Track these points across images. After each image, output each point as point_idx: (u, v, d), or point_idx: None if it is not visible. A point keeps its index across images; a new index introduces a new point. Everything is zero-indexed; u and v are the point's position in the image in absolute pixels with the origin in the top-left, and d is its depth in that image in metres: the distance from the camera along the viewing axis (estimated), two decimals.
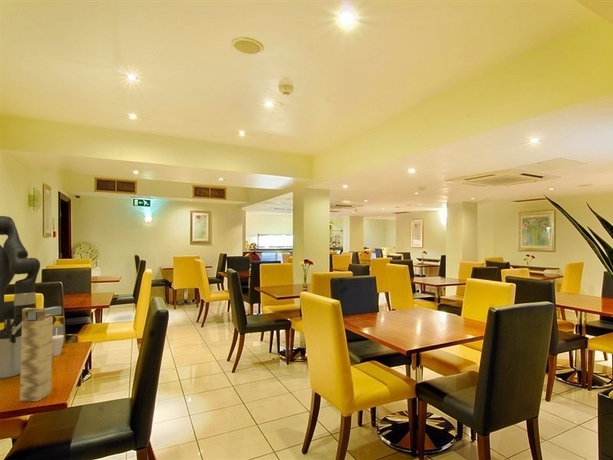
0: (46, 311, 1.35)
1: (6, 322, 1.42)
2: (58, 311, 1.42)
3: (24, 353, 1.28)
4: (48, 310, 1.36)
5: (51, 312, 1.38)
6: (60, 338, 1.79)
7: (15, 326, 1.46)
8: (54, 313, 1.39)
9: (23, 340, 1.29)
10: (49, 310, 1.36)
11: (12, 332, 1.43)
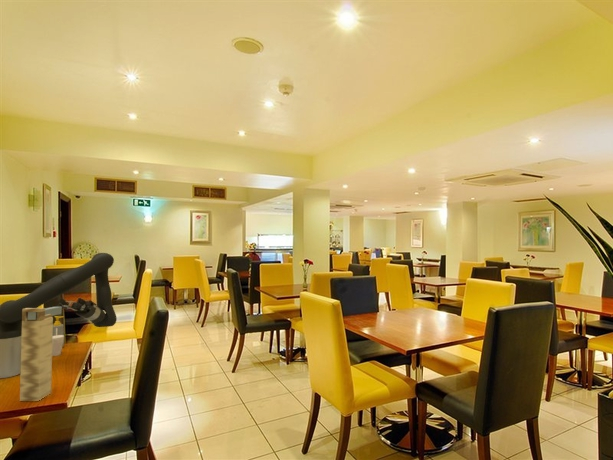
0: (46, 311, 1.35)
1: (94, 307, 1.60)
2: (58, 311, 1.42)
3: (24, 353, 1.28)
4: (48, 310, 1.36)
5: (51, 312, 1.38)
6: (60, 338, 1.79)
7: None
8: (54, 313, 1.39)
9: (23, 340, 1.29)
10: (49, 310, 1.36)
11: (85, 305, 1.56)
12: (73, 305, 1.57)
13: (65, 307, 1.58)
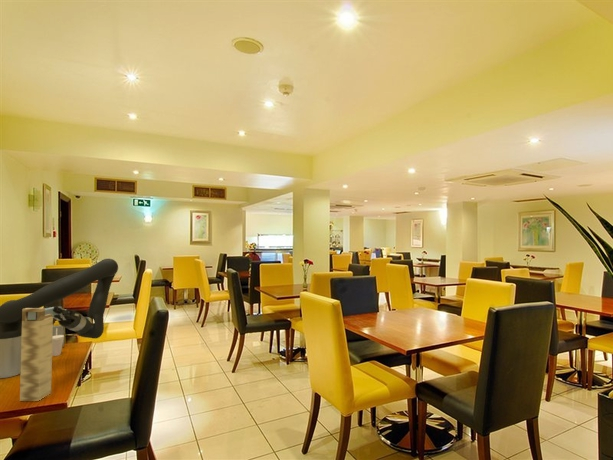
0: (46, 311, 1.35)
1: (76, 316, 1.46)
2: None
3: (24, 353, 1.28)
4: (48, 310, 1.36)
5: (51, 312, 1.38)
6: (60, 338, 1.79)
7: None
8: (54, 313, 1.39)
9: (23, 340, 1.29)
10: (49, 310, 1.36)
11: (61, 314, 1.42)
12: (60, 315, 1.45)
13: None
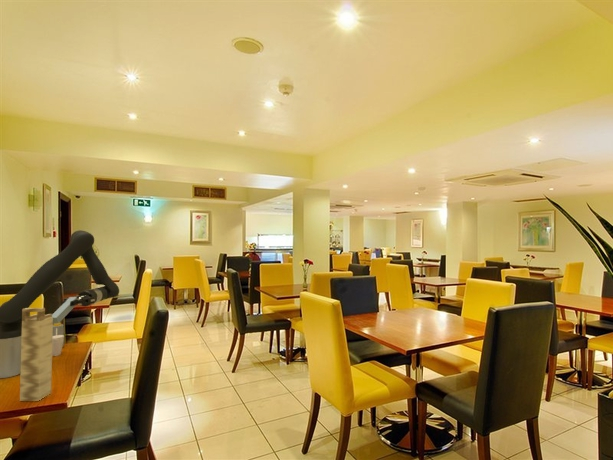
0: (65, 310, 1.46)
1: (92, 301, 1.58)
2: None
3: (24, 353, 1.28)
4: (66, 308, 1.47)
5: (69, 308, 1.49)
6: (60, 338, 1.79)
7: None
8: (72, 306, 1.51)
9: (23, 340, 1.29)
10: (67, 308, 1.47)
11: None
12: None
13: None
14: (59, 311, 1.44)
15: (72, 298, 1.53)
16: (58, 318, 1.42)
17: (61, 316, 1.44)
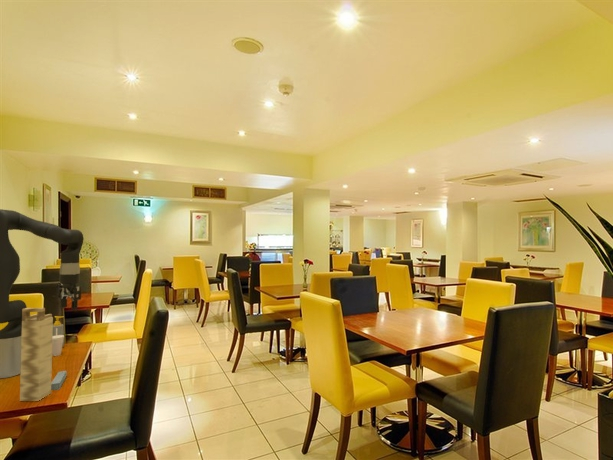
0: (62, 379, 1.44)
1: (79, 288, 1.52)
2: (65, 376, 1.50)
3: (24, 353, 1.28)
4: (62, 378, 1.45)
5: (63, 379, 1.46)
6: (60, 338, 1.79)
7: None
8: (64, 379, 1.48)
9: (23, 340, 1.29)
10: (63, 377, 1.45)
11: None
12: None
13: None
14: (57, 379, 1.42)
15: (62, 371, 1.50)
16: (59, 384, 1.39)
17: (60, 384, 1.41)
